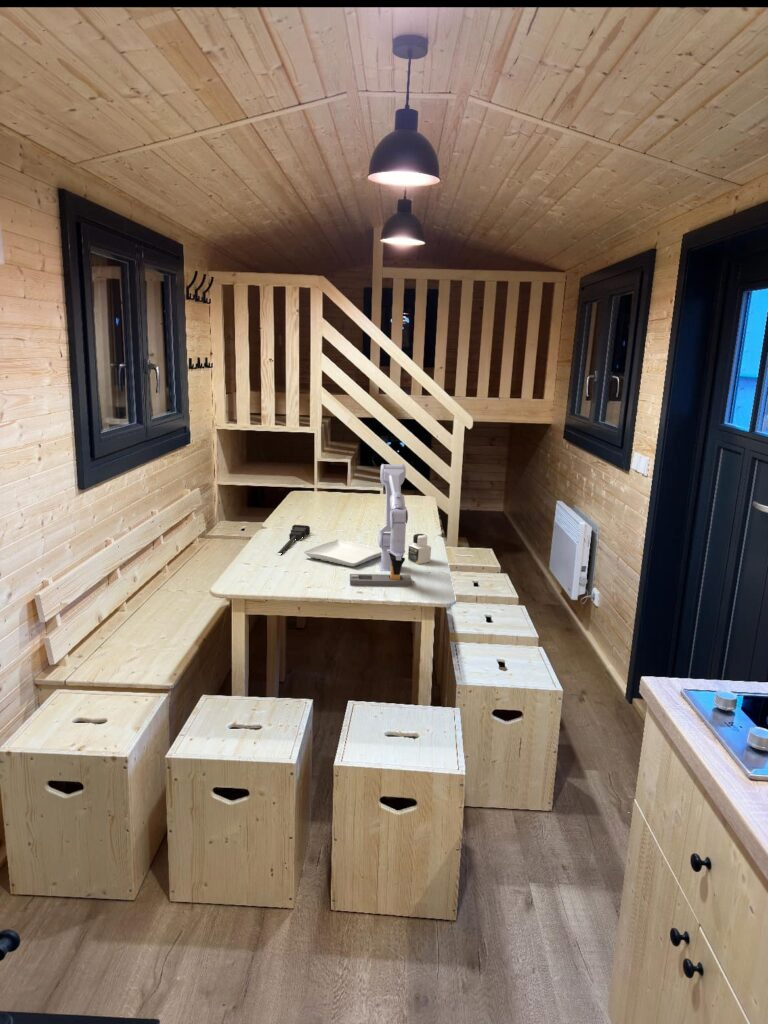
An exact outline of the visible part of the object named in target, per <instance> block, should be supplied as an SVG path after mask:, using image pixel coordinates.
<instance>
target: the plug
mask: <svg viewBox="0 0 768 1024" xmlns="http://www.w3.org/2000/svg"><path fill="white" fill-rule="evenodd" d="M389 575H390V580H400V575H401V573H400V574H399V575H394V572H393V564H392V561H391V570H390V571H389Z"/></svg>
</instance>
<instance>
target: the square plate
mask: <svg viewBox="0 0 768 1024" xmlns="http://www.w3.org/2000/svg"><path fill="white" fill-rule="evenodd" d="M302 552H303V553H304V554H305V555H306V556H307V557H310V558H313V559H316V560H318V559H321V560H320V561H322V560H325V561H324V562H326V561H329V562H328V563H331V562H334V563H333V564H335V563H338V564H337V565H339V564H342V565H341V566H344V565H346V567H353V568H354V567H356V566H360V565H362V564H364V563H366V561H367V562H369V561H371V560H374V559H377V558H379V557H381V552H382V548H380V547H376V546H371V545H367V544H363V543H359V542H355V541H348V540H344V539H335V540H332V541H329V542H325V543H322V544H320V545H316V546H313V547H312V548H308V549H307V550H306V549H305V550H304V551H302ZM359 564H360V565H359Z"/></svg>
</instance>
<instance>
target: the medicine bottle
mask: <svg viewBox="0 0 768 1024" xmlns="http://www.w3.org/2000/svg"><path fill="white" fill-rule="evenodd" d="M412 539H413V541H412V544H409V545H408V554H407V560H408V561H409V562H411V563H413V562H414V563H413V564H416V565H421V564H422V563H423V564H428V563H427V562H429V563H431V555H432V552H431V551H432V547H431V546H430V545H428V536H427V534H424V533H415V534H414V535H413V538H412Z"/></svg>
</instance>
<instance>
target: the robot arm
mask: <svg viewBox="0 0 768 1024" xmlns="http://www.w3.org/2000/svg"><path fill="white" fill-rule="evenodd" d="M406 472H407V471H406V465H405V464H392V463H391V464H387V463H386V464H384V463H381V465H380V476H379V477H380V484H381V485H383V486H384V488H385V525H384V526H382V527H381V528H379V531H378V537H377V539H378V545H377V546H378V548H381V549H382V552H381V556H380V559H381V560H380V563H379V564H378V566H379V570H380V572H390V570H391V561H392V564H393V572H394V575H399V574H400V575H401V571H402V566H403V564H404V562H405V560H406V557H404V554H405V553H406V550H405V548H406V533H407V531H406V529H407V524H408V521H409V513H408V512H409V511H408V508H407V506H406V503H405V502H406V501H405V496H404V495H403V494H402V492H401V491H402V490H401V489H402V487H401V486H402V485H403V483H404V481H405V479H406Z"/></svg>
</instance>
